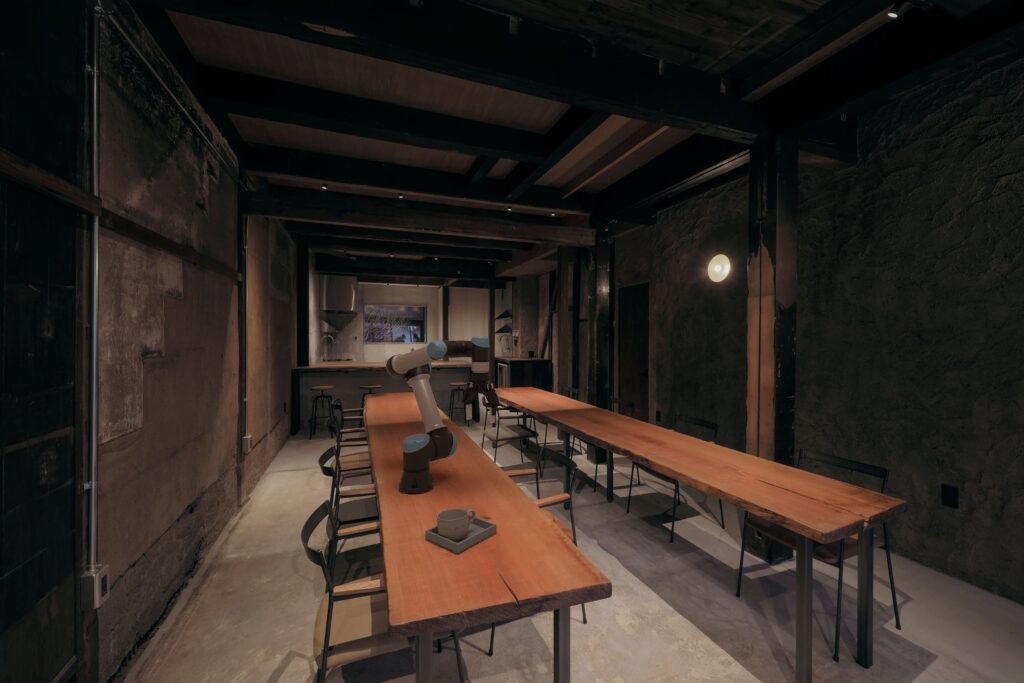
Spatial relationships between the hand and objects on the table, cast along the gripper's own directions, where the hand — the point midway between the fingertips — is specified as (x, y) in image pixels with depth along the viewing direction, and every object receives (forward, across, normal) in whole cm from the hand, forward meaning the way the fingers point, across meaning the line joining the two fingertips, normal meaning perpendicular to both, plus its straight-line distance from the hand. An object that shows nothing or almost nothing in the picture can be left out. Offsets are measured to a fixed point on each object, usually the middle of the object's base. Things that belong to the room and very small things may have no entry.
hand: (480, 421), depth 180 cm
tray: (+32, -21, +32) cm, 50 cm away
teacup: (+31, -20, +34) cm, 50 cm away
